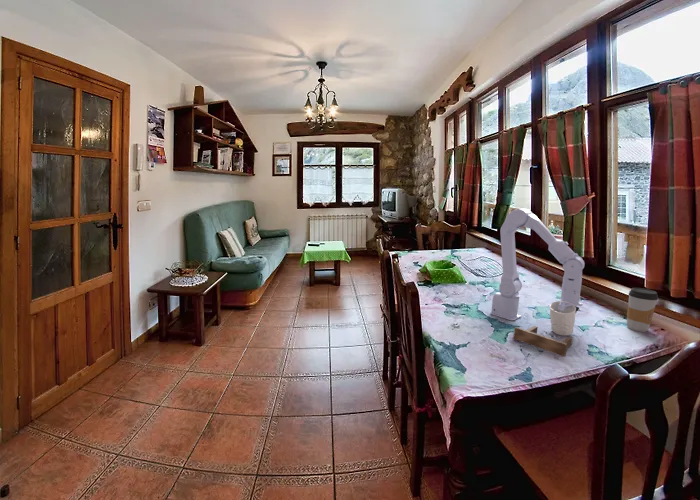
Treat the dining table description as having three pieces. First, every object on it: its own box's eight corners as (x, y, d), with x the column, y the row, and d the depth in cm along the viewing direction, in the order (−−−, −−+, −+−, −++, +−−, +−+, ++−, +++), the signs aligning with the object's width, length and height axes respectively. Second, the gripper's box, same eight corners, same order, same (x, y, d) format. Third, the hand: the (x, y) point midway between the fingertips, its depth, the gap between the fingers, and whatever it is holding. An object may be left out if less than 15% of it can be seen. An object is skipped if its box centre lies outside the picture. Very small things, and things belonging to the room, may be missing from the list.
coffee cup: (645, 334, 122) (652, 295, 119) (618, 326, 129) (625, 289, 126) (655, 330, 126) (663, 292, 123) (629, 322, 133) (635, 286, 130)
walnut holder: (513, 338, 117) (514, 327, 116) (528, 330, 124) (529, 320, 123) (564, 356, 105) (565, 344, 104) (577, 346, 112) (579, 335, 111)
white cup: (551, 321, 128) (551, 299, 124) (576, 325, 123) (576, 302, 119) (548, 334, 122) (548, 311, 119) (574, 338, 117) (574, 315, 114)
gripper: (576, 296, 115) (571, 333, 117) (590, 288, 123) (586, 323, 126) (553, 291, 120) (549, 327, 122) (569, 284, 129) (565, 317, 131)
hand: (566, 324), depth 124 cm, fingers closed, pressing on white cup
